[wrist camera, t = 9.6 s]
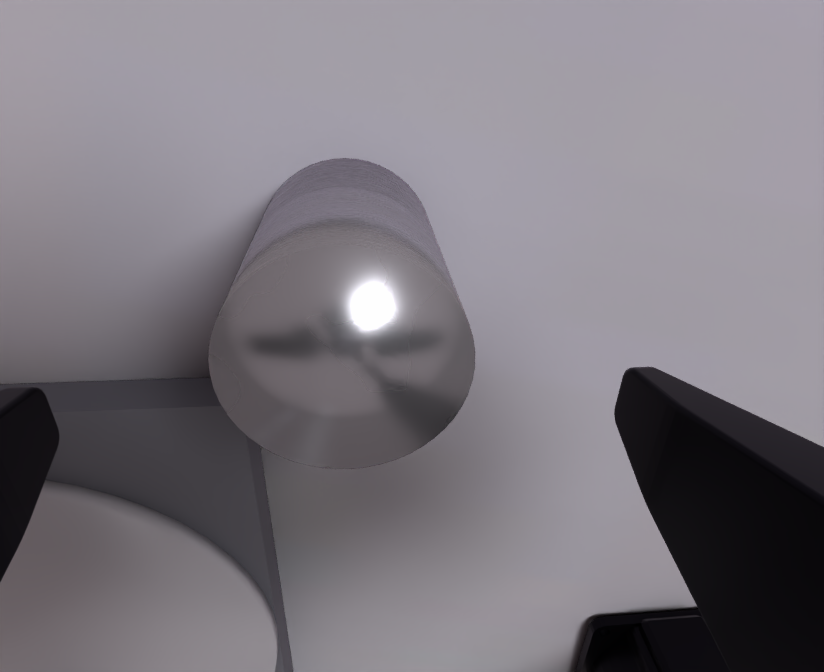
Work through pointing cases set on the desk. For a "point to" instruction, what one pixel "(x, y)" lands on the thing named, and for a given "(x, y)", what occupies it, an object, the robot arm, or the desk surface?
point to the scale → (146, 540)
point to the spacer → (342, 323)
